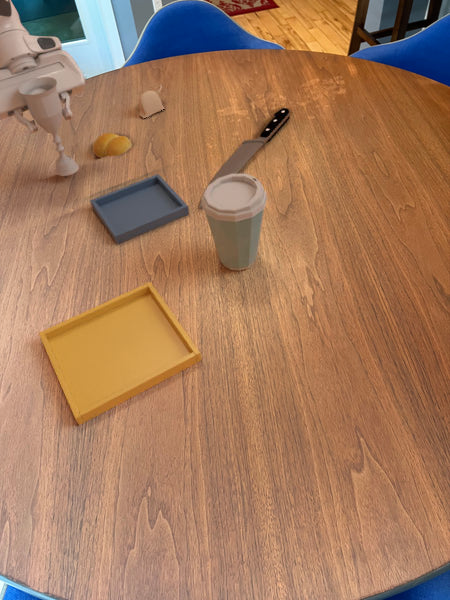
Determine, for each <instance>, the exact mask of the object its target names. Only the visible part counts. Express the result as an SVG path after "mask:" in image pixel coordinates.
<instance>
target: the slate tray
mask: <svg viewBox="0 0 450 600" xmlns="http://www.w3.org/2000/svg"><path fill="white" fill-rule="evenodd" d="M89 201H90V205H91V208H92V209H93V211H94V212H95V214H96V215H97V217H98V218H99V220H100V221H101V223H102V224H103V225H104V227H105V228H106V230H107V231H108V233H109V234H110V236H111V237H112V238H113V240H114V242H115V243H116V244H117V245H120V244H122V243H124V242H126V241H127V242H128V241H129V240H131V239H134V238H136V237H138V236H141V235H143V234H145V233H148V232H150V231H153V230H155V229H158V228H160V227H162V226H164V225H167V224H169V223H171V222H174V221H177V220H178V219H180V218H184V217H186V216H188V215H190V210H189V205H188V204H187V203H186V202H185V201H184V200H183V199H182V197H180V195H179V194H178V193H177V192H176V191H175V190H174V189H173V188H172V186H170V185H169V184H168V183H167V182H166V180H164V178H163V177H162V176H161V175H160V174H159V173H156V174H154V175H152V176H149V177H147V178H143V179H142V180H139V181H137V182H133V183H131V184H129V185H126V186H124V187H120V188H118V189H115V190H113V191H110V192H108V193H105V194H102V195H100V196H97V197H95V198H93V199H90V200H89Z"/></svg>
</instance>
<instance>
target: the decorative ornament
mask: <svg viewBox="0 0 450 600" xmlns="http://www.w3.org/2000/svg"><path fill="white" fill-rule="evenodd" d="M162 88H163V85H162V84H159V85H158V86H157V87H156V89H154V90H155V91H154V90H146V91H144V92H143V93H141V95H139V98H138V103H137V104H138V109H139V113H138V114H139V116H140V117H141V118H143V119H144V118H146V117H147V118H149V117H150V116H152V115H154V114H156V113H158V112H161V110H162V111H164V110H163V109H164V108H165V107H164V106H163V103H162V99H161V97H160V96H159V95H160V93H161V91H162ZM147 118H146V119H147Z"/></svg>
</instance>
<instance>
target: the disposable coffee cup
mask: <svg viewBox="0 0 450 600" xmlns="http://www.w3.org/2000/svg"><path fill="white" fill-rule="evenodd" d="M267 201H268V195H267V192H266V190H265V189H264V186H263V184H262V182H261V181H260V179H258V178H257V177H256V176H253V175H251V174H248V173H237V174H229V175H226V176H223V177H220V178H218V179H216V180H215V181H214V182H212V183H211V184H210V185H208V184H207V187H206V188H205V189H204V191H203V194H202V196H201V198H200V202H201V205H202V207H201V208H202V209H203V212H204V214H205V217H206V220H207V223H208V226H209V229H210V232H211V235H212V239H213V242H214V246H215V248H216V252H217V254H218V257H219V260H220V262H221V264H222V265H223V266H224V267H225V268H227V270H230V271H237V272H239V271H243V270H247V269H249V268H250V267H252V266H253V265H254V264H255V262H256V260H257V257H258V254H259V253H258V252H259V246H260V245H259V244H260V238H261V233H262V225H263V219H264V212H265V208H266V204H267Z"/></svg>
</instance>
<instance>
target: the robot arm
mask: <svg viewBox="0 0 450 600" xmlns="http://www.w3.org/2000/svg"><path fill="white" fill-rule="evenodd" d="M20 18H21V17H20V15H19V12H18V11H17V9H16V7H15V5H14V4H13V2H12V0H0V121H1V120H4V119H7V118H10V117H14V118H15V120H16V121H17V122H19V123H20V124H22V125H23V126H25V127H26V128H27V130H28V131H29V133H30V134H35V133H38V132H39V127H38V124H36V121H35V119H33V120H29V119H27V118H26V117H25V116H24V112H27V111H29V108H28V106H27V103H26V100H25V98H24V96H23V95H22V94H21V93H20V92H19V87H20V86H21V85H22V84H24V83H25V82H27V81H29V80H32V79H35V78H41V77H50V78H54V79H56V81H57V84H56V89H57V92H58V95H59V98H60V102H61V104H65V106H64V107H65V108H62V117H64V120H65V121H69V120H73V119H74V114H73V112H72V110H71V108H70V103H71V100H70V99H71V97H70V96H72V95H75V94H76V95H77V94H79V93H81V92H83V91H84V89H85V86H86V77H85V75H84V73H83V71H82V70H81V68H80V66H79V64H78V63H77V62H76V60H75V59H74V57H73V56H72V55H71V54H70V53H69V52H68V51H66V50H63V47H62V42H61V40H60V38H58V36H57V37H56V36H46V35H45V36H42V35H41V36H40V35H31V34H30V33H29V31H28V30H27V29H26V28H25V26H23V24H22V22H21V19H20ZM46 91H48V90H46V89H41V88H39V89H35V90H33V91H32V92H31V94H30V95H34V94H40V93H43V92H46Z"/></svg>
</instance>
